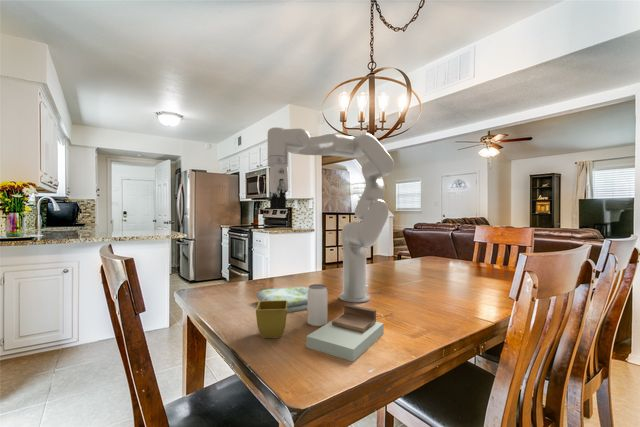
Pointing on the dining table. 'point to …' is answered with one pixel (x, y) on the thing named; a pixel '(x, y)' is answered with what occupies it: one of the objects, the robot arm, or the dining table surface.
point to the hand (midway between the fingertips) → (277, 208)
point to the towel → (287, 297)
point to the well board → (344, 340)
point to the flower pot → (271, 318)
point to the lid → (356, 318)
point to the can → (317, 305)
